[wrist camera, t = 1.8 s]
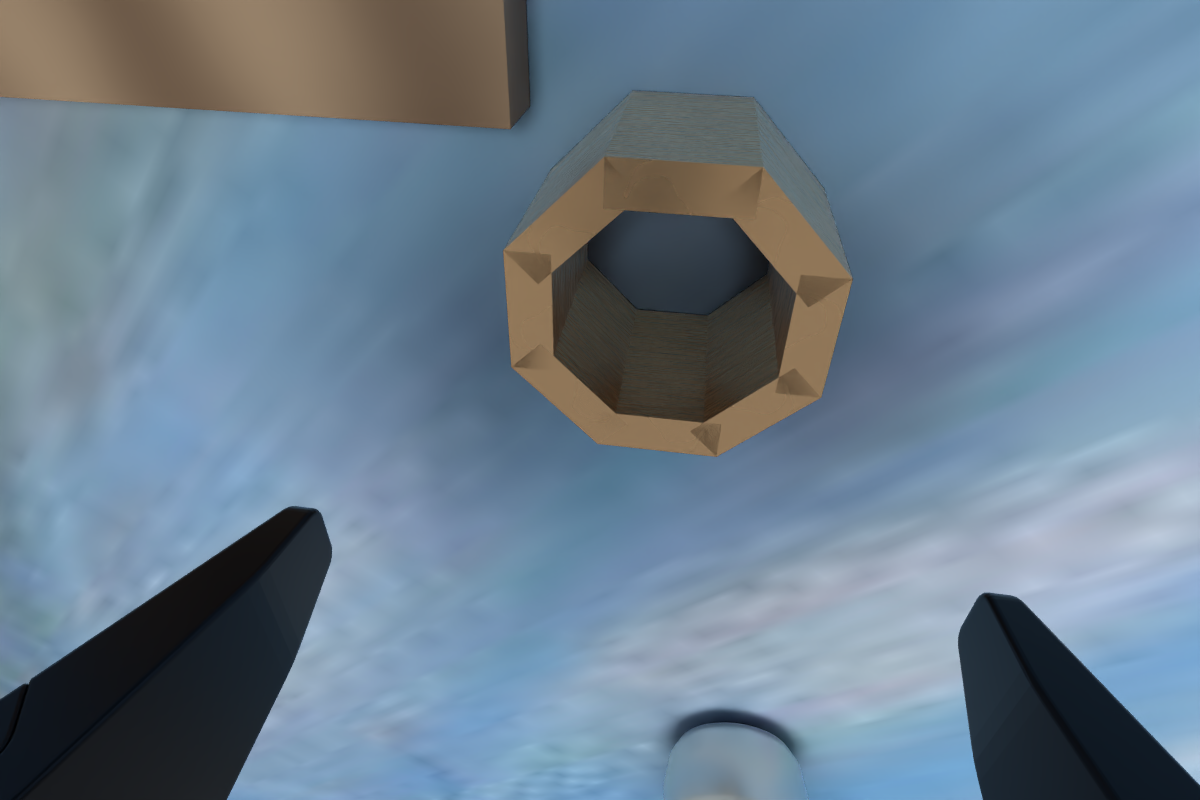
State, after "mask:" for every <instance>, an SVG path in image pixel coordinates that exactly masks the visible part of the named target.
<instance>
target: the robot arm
mask: <svg viewBox="0 0 1200 800" xmlns="http://www.w3.org/2000/svg"><path fill="white" fill-rule="evenodd" d="M331 558H332V546H331V543H330V539H329V536H328V533H327V530H326V527H325V524H324V521H323V517H322V515H321V513H320V512H319V511H318V510H317V509H314V508H306V507H298V506H291V507H288V508H285V509H284V510H282V511H281V512H279V513H278V514H276V515H275V516H273V517H272V518H270V519H269V520H267V521H266V522H264V523H263V524H261V525H260V526H258V527H257V528H255V529H254V530H252V531H251V532H249V533H248V534H246V535H245V536H243V537H242V538H240V539H239V540H237V541H236V542H234V543H233V544H231V545H230V546H228V547H227V548H225V549H224V550H222V551H221V552H219V553H218V554H216V555H215V556H213V557H212V558H210V559H209V560H208V561H206V562H205V563H203V564H202V565H200V566H199V567H197V568H196V569H194V570H193V571H191V572H190V573H188V574H187V575H185V576H184V577H182V578H181V579H179V580H178V581H176V582H175V583H173V584H172V585H170V586H169V587H167V588H166V589H164V590H163V591H161V592H160V593H158V594H157V595H155V596H154V597H152V598H151V599H149V600H148V601H146V602H145V603H143V604H142V605H140V606H139V607H137V608H136V609H134V610H133V611H132V612H130V613H129V614H127V615H126V616H124V617H123V618H121V619H120V620H118V621H117V622H115V623H114V624H112V625H111V626H109V627H108V628H106V629H105V630H103V631H102V632H100V633H99V634H97V635H96V636H94V637H93V638H91V639H90V640H88V641H87V642H85V643H84V644H82V645H81V646H79V647H78V648H76V649H75V650H73V651H72V652H70V653H69V654H67V655H66V656H64V657H63V658H61V659H60V660H59V661H57V662H56V663H54V664H53V665H51V666H50V667H48V668H47V669H45V670H44V671H42V672H41V673H39V674H38V675H36V676H35V677H33V678H32V679H31V680H30V682H29V684H22V685H21V686H19V687H18V688H16V689H15V690H13V691H12V692H10V693H9V694H7V695H6V696H5V697H3V698H2V699H0V800H227V798H228V796H229V794H230V792H231V790H232V788H233V786H234V784H235V782H236V780H237V778H238V776H239V774H240V772H241V770H242V768H243V765H244V763H245V761H246V759H247V757H248V755H249V753H250V751H251V749H252V747H253V745H254V743H255V741H256V739H257V737H258V735H259V733H260V731H261V729H262V727H263V725H264V723H265V721H266V719H267V717H268V714H269V712H270V710H271V708H272V706H273V704H274V702H275V700H276V698H277V696H278V694H279V692H280V690H281V688H282V686H283V684H284V682H285V680H286V678H287V676H288V673H289V671H290V669H291V667H292V665H293V663H294V660H295V658H296V655H297V653H298V650H299V648H300V645H301V642H302V640H303V637H304V634H305V631H306V629H307V626H308V623H309V620H310V618H311V615H312V612H313V609H314V607H315V604H316V601H317V598H318V596H319V593H320V590H321V588H322V585H323V582H324V579H325V577H326V574H327V571H328V568H329V566H330V562H331ZM958 649H959V656H960V664H961V671H962V678H963V686H964V693H965V701H966V708H967V716H968V723H969V731H970V738H971V745H972V751H973V758H974V763H975V768H976V772H977V777H978V781H979V785H980V789H981V793H982V797H983V800H1200V785H1199V784H1198V783H1197V782H1196V781H1195V780H1194V779H1193V778H1192V777H1191V776H1190V774H1189V773H1188V772H1187V771H1186V770H1185V769H1184V768H1183V767H1182V766H1181V765H1180V764H1179V763H1178V762H1177V761H1176V760H1175V759H1174V758H1173V757H1172V756H1171V755H1170V754H1169V753H1168V752H1167V751H1166V750H1165V749H1164V748H1163V746H1162V745H1161V744H1160V743H1159V742H1158V741H1157V740H1156V739H1155V738H1154V737H1153V736H1152V735H1151V734H1150V733H1149V732H1148V731H1147V730H1146V729H1145V728H1144V727H1143V726H1142V725H1141V724H1140V723H1139V722H1138V721H1137V720H1136V718H1135V717H1134V716H1133V715H1132V714H1131V713H1130V712H1129V711H1128V710H1127V709H1126V708H1125V707H1124V706H1123V705H1122V704H1121V703H1120V702H1119V701H1118V700H1117V699H1116V698H1115V697H1114V696H1113V695H1112V694H1111V693H1110V692H1109V690H1108V689H1107V688H1106V687H1105V686H1104V685H1103V684H1102V683H1101V682H1100V681H1099V680H1098V679H1097V678H1096V677H1095V676H1094V675H1093V674H1092V673H1091V672H1090V671H1089V670H1088V669H1087V668H1086V667H1085V666H1084V665H1083V664H1082V662H1081V661H1080V660H1079V659H1078V658H1077V657H1076V656H1075V655H1074V654H1073V653H1072V652H1071V651H1070V650H1069V649H1068V648H1067V647H1066V646H1065V645H1064V644H1063V643H1062V642H1061V641H1060V640H1059V639H1058V638H1057V637H1056V636H1055V635H1054V633H1053V632H1052V631H1051V630H1050V629H1049V628H1048V627H1047V626H1046V625H1045V624H1044V623H1043V622H1042V621H1041V620H1040V619H1039V618H1038V617H1037V616H1036V615H1035V614H1034V613H1033V612H1032V611H1031V610H1030V609H1029V608H1028V607H1027V605H1026V604H1025V603H1024V602H1022V601H1021V600H1020V599H1018V598H1017V597H1015V596H1011V595H1003V594H995V593H983V594H982V595H980V596H979V597H978V598H977V600H976V602H975V603H974V605H973V607H972V609H971V611H970V612H969V614H968V616H967V618H966V619H965V621H964V623H963V625H962V627H961V629H960V632H959V637H958Z"/></svg>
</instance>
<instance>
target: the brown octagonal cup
mask: <svg viewBox="0 0 1200 800" xmlns="http://www.w3.org/2000/svg"><path fill="white" fill-rule="evenodd" d="M624 210H628V211H642V212H655V213H668V214H682V215H695V216H709V217H722V218H733V219H734V220H735V221H736V223H737V224H738V225H739V226H740V227H741V229H742V230H743V231H744V232H745V233H746V234H747V236H748V237H749V238H750V239H751V240H752V242H753V243H754V244H755V245H756V246H757V247H758V249H759V250H760V251H761V252H762V253H763V254H764V256H765V257H766V258H767V259H768V260H769V267H768V273H767V275H765V276H764V277H762V278H761V279H760V280H758V281H757V282H755V283H754V284H752V285H751V286H750V287H748V288H747V289H745V290H744V291H742V292H741V293H739V294H738V295H737V296H735V297H734V298H732V299H731V300H729V301H728V302H727V303H725V304H724V305H722V306H721V307H719V308H718V309H717V310H715V311H714V312H712V313H711V314H709V315H708V316H706V315H695V314H684V313H672V312H661V311H650V310H639V309H636V308H635V307H634V306H633V305H632V304H631V303H630V302H629V301H628V300H627V299H626V298H625V297H624V296H623V295H622V294H621V293H620V292H619V291H618V290H617V289H616V288H615V287H614V286H613V285H612V283H611V282H610V281H609V280H608V279H607V278H606V277H605V276H604V275H603V274H602V273H601V272H600V271H599V270H598V269H597V268H596V267H595V266H594V265H593V264H592V263H591V262H590V261H589V260H588V241H589V240H590V239H592V238H593V237H594V236H595V235H596V234H597V233H599V232H600V231H601V230H602V229H603V228H604V227H606V226H607V225H608V224H609V223H610V222H611V221H613V220H614V219H615V218H616V217H617V216H618V215H619V214H621V213H622V212H623V211H624ZM503 254H504V269H505V283H506V298H507V312H508V326H509V341H510V355H511V367H512V368H513V369H514V370H515V371H516V372H518V373H519V374H520V375H521V376H522V377H523V378H524V379H525V380H527V381H528V382H529V383H530V384H531V385H532V386H533V387H534V388H536V389H537V390H538V391H539V392H540V393H541V394H542V395H543V396H545V397H546V398H547V399H548V400H549V401H550V402H551V403H552V404H553V405H555V406H556V407H557V408H558V409H559V410H560V411H561V412H562V413H564V414H565V415H566V416H567V417H568V418H569V419H570V420H571V421H573V422H574V423H575V424H576V425H577V426H578V427H579V428H580V429H582V430H583V431H584V432H585V433H586V434H587V435H588V436H589V437H591V438H592V439H593V440H594V441H595V442H596V443H597V444H604V445H613V446H622V447H631V448H640V449H650V450H659V451H668V452H677V453H686V454H696V455H705V456H714V457H717V456H719V455H720V454H722V453H724V452H726V451H727V450H729V449H731V448H733V447H735V446H736V445H738V444H740V443H742V442H743V441H745V440H747V439H749V438H750V437H752V436H754V435H756V434H758V433H759V432H761V431H763V430H765V429H766V428H768V427H770V426H772V425H774V424H775V423H777V422H779V421H781V420H782V419H784V418H786V417H788V416H789V415H791V414H793V413H795V412H797V411H798V410H800V409H802V408H804V407H805V406H807V405H809V404H811V403H812V402H814V401H816V400H818V399H820V398H821V397H822V393H823V389H824V385H825V382H826V378H827V374H828V370H829V367H830V363H831V359H832V355H833V352H834V348H835V344H836V340H837V337H838V333H839V329H840V325H841V322H842V318H843V314H844V310H845V307H846V303H847V299H848V295H849V292H850V288H851V284H852V280H853V278H852V275H851V272H850V269H849V265H848V262H847V259H846V256H845V253H844V250H843V247H842V244H841V240H840V237H839V234H838V231H837V228H836V225H835V222H834V219H833V215H832V212H831V209H830V206H829V203H828V200H827V197H826V193H825V190H824V188H823V186H822V185H821V184H820V183H819V181H818V180H817V179H816V177H815V176H814V175H813V173H812V172H811V171H810V170H809V168H808V167H807V166H806V164H805V163H804V162H803V160H802V159H801V158H800V157H799V155H798V154H797V153H796V151H795V150H794V149H793V147H792V146H791V145H790V144H789V142H788V141H787V140H786V138H785V137H784V136H783V134H782V133H781V132H780V130H779V129H778V128H777V127H776V125H775V124H774V123H773V121H772V120H771V119H770V117H769V116H768V115H767V114H766V112H765V111H764V110H763V108H762V107H761V106H760V104H759V103H758V102H757V101H756V99H755V98H754V97H739V96H721V95H704V94H686V93H668V92H651V91H632V92H631V93H630V94H629V95H627V96H626V97H625V98H624V99H623V100H622V101H621V102H620V103H619V104H618V105H617V106H616V107H615V108H614V109H613V110H612V111H611V112H610V113H609V114H608V115H607V116H606V117H605V118H604V119H603V120H602V121H601V122H600V123H599V124H598V125H597V126H595V127H594V128H593V129H592V130H591V131H590V132H589V133H588V134H587V135H586V136H585V137H584V138H583V139H582V140H581V141H580V142H579V143H578V144H577V145H576V146H575V147H574V148H573V149H572V150H571V151H570V152H569V153H568V154H567V155H566V156H564V157H563V158H562V159H561V160H560V161H559V162H558V163H557V164H556V165H555V166H554V167H553V168H552V169H551V170H550V172H549V174H548V176H547V177H546V179H545V181H544V182H543V184H542V186H541V187H540V189H539V191H538V192H537V194H536V196H535V198H534V199H533V201H532V203H531V204H530V206H529V208H528V209H527V211H526V213H525V214H524V216H523V218H522V220H521V221H520V223H519V225H518V226H517V228H516V230H515V231H514V233H513V235H512V236H511V238H510V240H509V242H508V243H507V245H506V247H505V248H504V250H503Z"/></svg>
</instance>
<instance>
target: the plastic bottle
mask: <svg viewBox="0 0 1200 800" xmlns="http://www.w3.org/2000/svg"><path fill="white" fill-rule="evenodd" d="M663 795H664V800H809V798H808V795H807V791H806V787H805V783H804V779H803V775H802V771H801V768H800V765H799V763H798V761H797V760H796V758H795V757H794V756H793V754H792V753H791V751H790V750H789V749H788V747H787V746H786V745H785V744H784V742H783V741H781V740H780V739H779V738H778V737H776V736H775V735H773V734H771V733H769V732H767V731H765V730H762V729H760V728H757V727H753V726H750V725H745V724H739V723H728V722H719V723H709V724H703V725H700V726H697V727H694V728H692V729H690V730H688V731H687V732H686V733H685V734H684V735H683V736H682V737H681V738H680V739H679V741H678V742H677V743H676V745H675V746H674V747H673V749H672V750H671V752H670V756H669V760H668V765H667V769H666V774H665V778H664V784H663Z"/></svg>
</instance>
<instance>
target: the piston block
mask: <svg viewBox="0 0 1200 800" xmlns="http://www.w3.org/2000/svg"><path fill="white" fill-rule="evenodd" d="M0 97H12V98H28V99H44V100H60V101H75V102H91V103H107V104H123V105H138V106H154V107H170V108H186V109H201V110H217V111H233V112H248V113H264V114H280V115H296V116H311V117H327V118H343V119H359V120H374V121H390V122H406V123H422V124H437V125H453V126H469V127H485V128H500V129H511V128H512V127H513V126H514V125H515V123H516V122H517V121H518V120H519V119H520V117H521V116H522V115H523V114H524V113H525V112H526V110H527V109H528V108H529V107H530V91H529V65H528V39H527V14H526V0H0Z"/></svg>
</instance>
